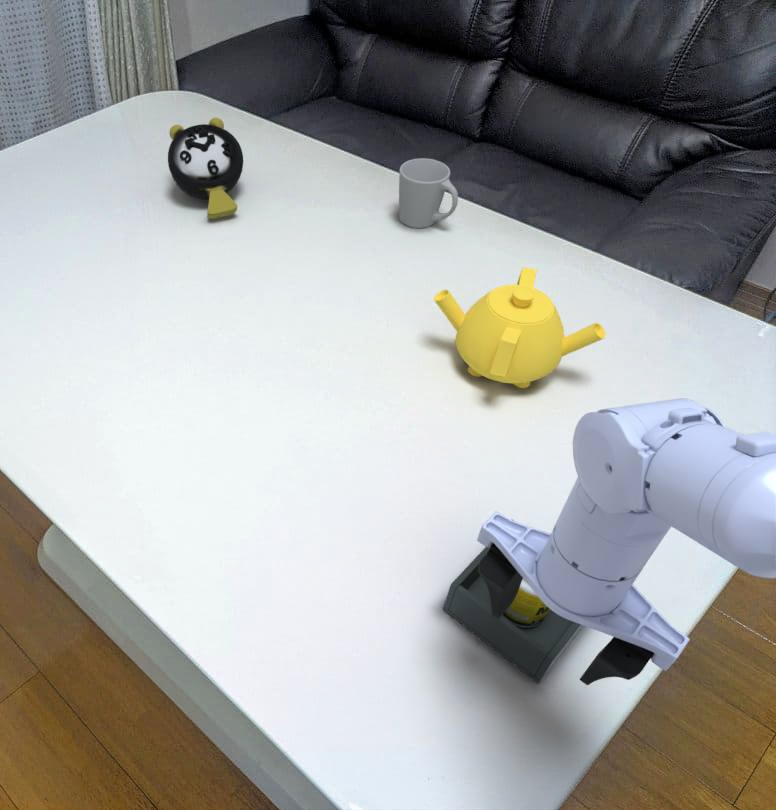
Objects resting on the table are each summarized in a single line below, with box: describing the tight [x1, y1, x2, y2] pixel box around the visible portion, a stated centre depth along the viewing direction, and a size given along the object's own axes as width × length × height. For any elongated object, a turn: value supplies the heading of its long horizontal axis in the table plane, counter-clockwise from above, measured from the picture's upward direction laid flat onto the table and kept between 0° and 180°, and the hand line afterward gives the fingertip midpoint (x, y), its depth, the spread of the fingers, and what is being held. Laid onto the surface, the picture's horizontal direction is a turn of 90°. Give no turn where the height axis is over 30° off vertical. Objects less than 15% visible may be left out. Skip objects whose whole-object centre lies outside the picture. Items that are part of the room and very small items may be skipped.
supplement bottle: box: [502, 579, 550, 628], centre depth 66 cm, size 5×5×8 cm
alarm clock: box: [167, 117, 244, 220], centre depth 121 cm, size 12×15×15 cm
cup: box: [398, 157, 459, 229], centre depth 114 cm, size 8×10×8 cm
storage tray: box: [442, 519, 585, 684], centre depth 68 cm, size 10×10×5 cm
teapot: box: [433, 266, 606, 389], centre depth 90 cm, size 20×18×11 cm
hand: (544, 640), depth 58 cm, fingers open, 7 cm apart
